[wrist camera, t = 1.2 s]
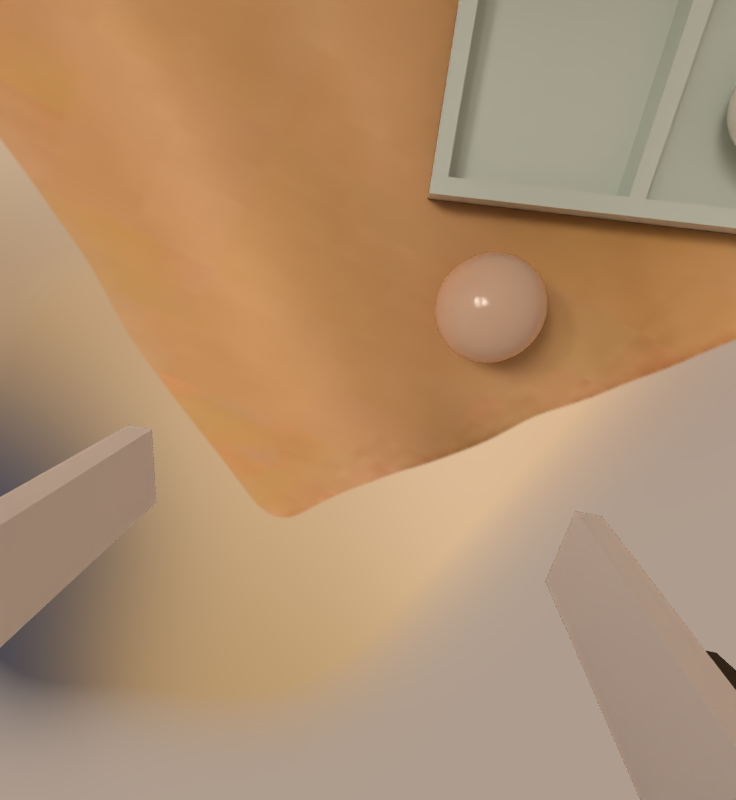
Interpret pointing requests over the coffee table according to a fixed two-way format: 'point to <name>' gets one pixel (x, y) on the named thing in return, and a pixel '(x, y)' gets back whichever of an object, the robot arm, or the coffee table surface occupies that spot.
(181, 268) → the coffee table surface
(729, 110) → the cream egg
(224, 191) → the coffee table surface
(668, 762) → the robot arm
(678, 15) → the divided tray
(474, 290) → the pink ball
